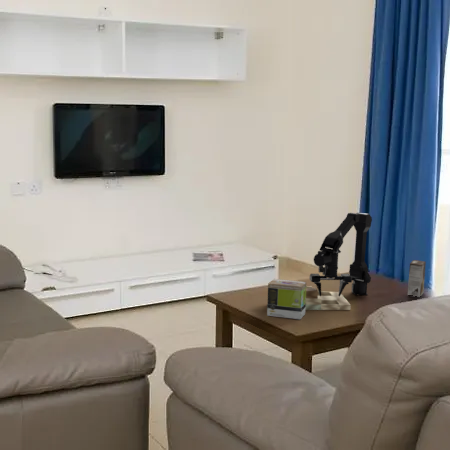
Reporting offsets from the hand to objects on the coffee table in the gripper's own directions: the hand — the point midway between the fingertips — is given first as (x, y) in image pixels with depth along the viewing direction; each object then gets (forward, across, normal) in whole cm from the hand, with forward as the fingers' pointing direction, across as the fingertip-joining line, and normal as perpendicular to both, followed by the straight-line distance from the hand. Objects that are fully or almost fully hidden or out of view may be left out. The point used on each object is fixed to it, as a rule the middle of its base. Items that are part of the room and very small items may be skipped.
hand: (329, 296), depth 339 cm
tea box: (+4, +23, +19) cm, 30 cm away
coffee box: (+4, -47, -16) cm, 50 cm away
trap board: (+3, +3, 0) cm, 5 cm away
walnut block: (+1, +9, 0) cm, 9 cm away
